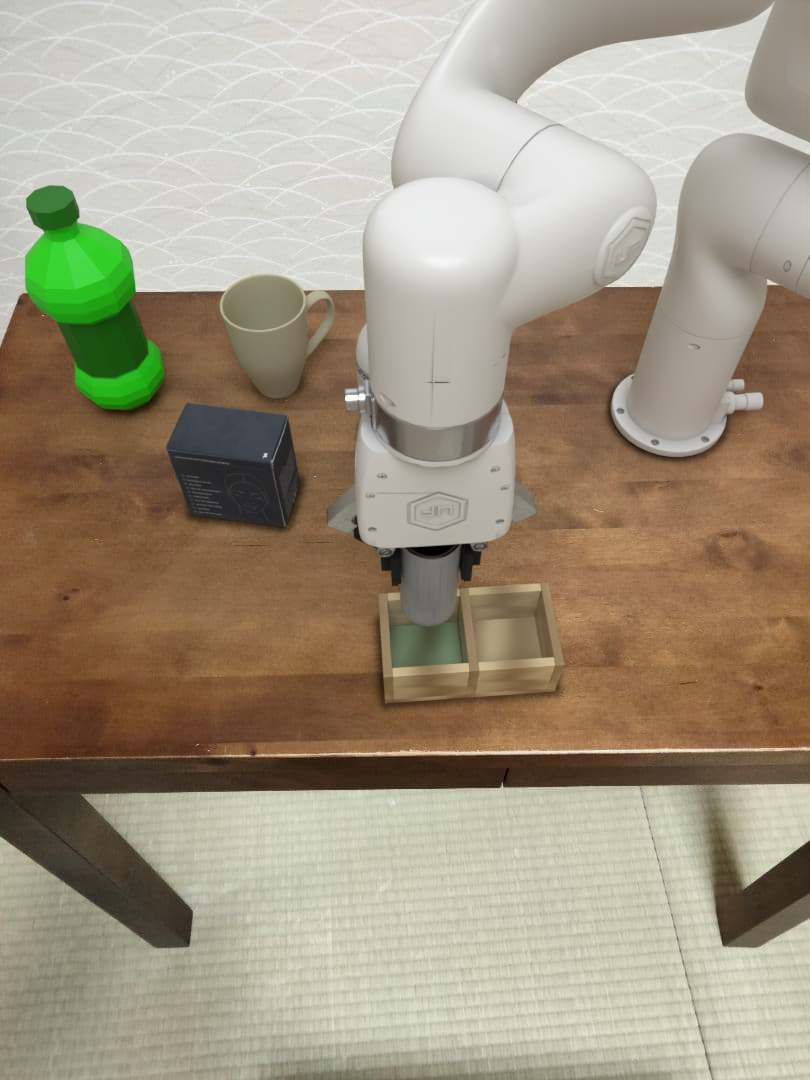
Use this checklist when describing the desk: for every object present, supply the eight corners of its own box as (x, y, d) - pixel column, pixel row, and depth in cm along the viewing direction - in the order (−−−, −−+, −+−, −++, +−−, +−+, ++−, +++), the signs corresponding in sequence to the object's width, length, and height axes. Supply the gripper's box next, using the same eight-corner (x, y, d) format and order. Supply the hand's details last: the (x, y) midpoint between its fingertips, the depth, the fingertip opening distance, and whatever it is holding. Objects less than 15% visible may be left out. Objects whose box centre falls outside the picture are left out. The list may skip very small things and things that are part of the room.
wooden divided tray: (540, 613, 78) (548, 582, 73) (554, 691, 74) (565, 664, 69) (380, 623, 78) (378, 593, 73) (384, 703, 73) (383, 677, 68)
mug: (305, 422, 92) (292, 342, 82) (226, 400, 94) (204, 319, 84) (342, 357, 97) (334, 275, 87) (267, 338, 99) (251, 254, 89)
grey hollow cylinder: (463, 619, 66) (471, 549, 57) (409, 633, 65) (409, 565, 56) (445, 572, 68) (451, 500, 60) (393, 586, 67) (391, 514, 59)
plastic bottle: (190, 374, 96) (128, 178, 75) (142, 438, 90) (62, 246, 70) (116, 352, 98) (37, 156, 77) (66, 413, 93) (-34, 220, 72)
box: (302, 479, 87) (290, 413, 78) (287, 529, 84) (272, 466, 75) (206, 466, 88) (184, 400, 80) (187, 515, 85) (162, 451, 76)
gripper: (287, 460, 44) (318, 618, 60) (595, 442, 45) (548, 603, 60) (288, 362, 48) (317, 533, 64) (570, 347, 49) (532, 520, 64)
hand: (429, 566), depth 62 cm, fingers closed on grey hollow cylinder, 4 cm apart
